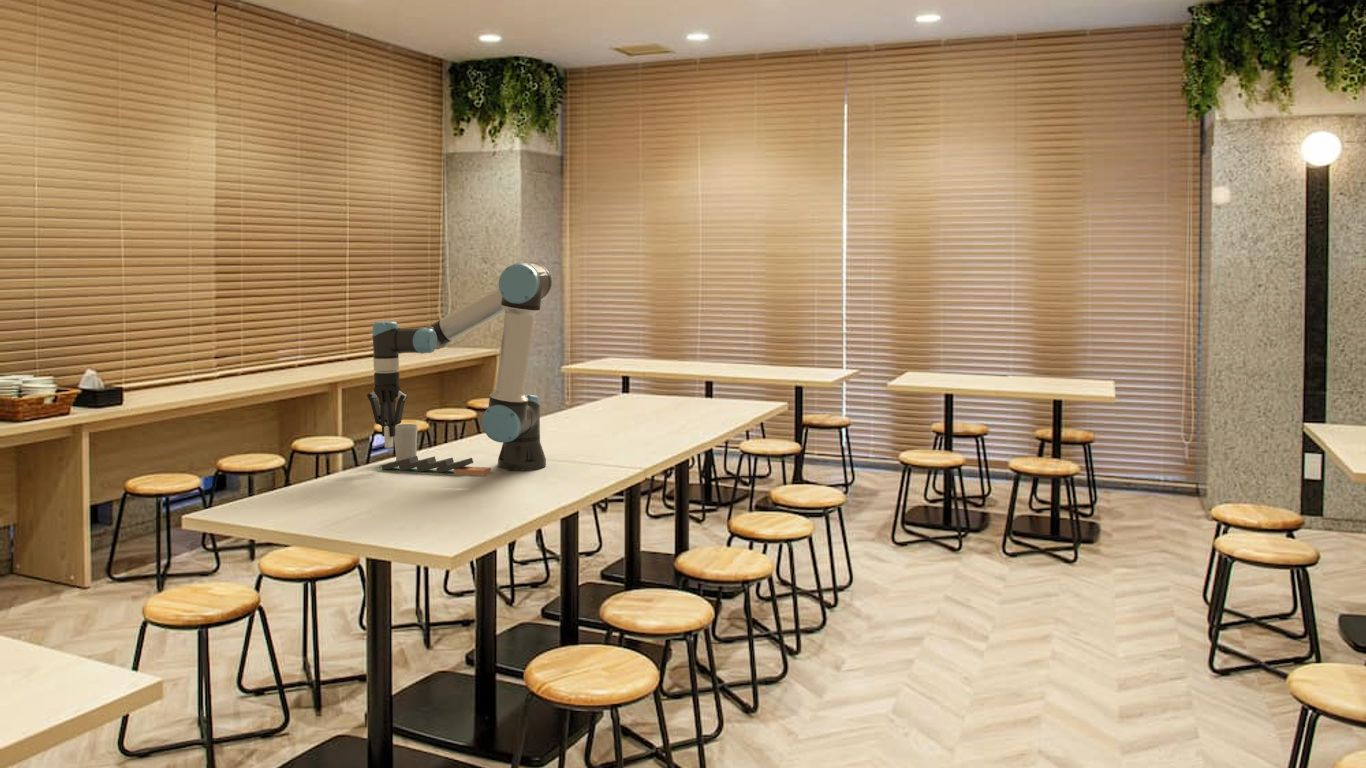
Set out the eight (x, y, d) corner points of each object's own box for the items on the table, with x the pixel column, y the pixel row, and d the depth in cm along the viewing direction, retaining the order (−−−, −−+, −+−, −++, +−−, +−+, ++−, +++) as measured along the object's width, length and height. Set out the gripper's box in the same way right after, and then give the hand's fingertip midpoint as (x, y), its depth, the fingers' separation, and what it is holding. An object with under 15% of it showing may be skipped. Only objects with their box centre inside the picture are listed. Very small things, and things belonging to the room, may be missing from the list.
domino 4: (445, 470, 334) (473, 462, 331) (437, 473, 329) (466, 465, 326) (443, 465, 334) (472, 457, 331) (436, 468, 329) (464, 460, 326)
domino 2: (408, 468, 337) (436, 461, 335) (400, 471, 332) (428, 464, 330) (406, 463, 337) (434, 456, 334) (398, 466, 332) (427, 459, 330)
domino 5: (461, 471, 333) (490, 472, 330) (453, 474, 328) (483, 475, 325) (461, 465, 333) (490, 467, 330) (453, 469, 328) (483, 470, 325)
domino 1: (390, 467, 339) (418, 460, 336) (382, 470, 334) (410, 463, 331) (389, 462, 339) (417, 455, 336) (381, 465, 334) (409, 458, 331)
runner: (493, 473, 331) (493, 472, 331) (484, 477, 324) (484, 476, 324) (382, 467, 341) (382, 466, 341) (371, 471, 334) (371, 470, 334)
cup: (412, 465, 344) (411, 428, 343) (389, 464, 346) (387, 427, 345) (423, 460, 352) (422, 424, 351) (400, 459, 354) (399, 423, 352)
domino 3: (425, 469, 336) (454, 462, 333) (418, 472, 331) (446, 465, 328) (424, 464, 336) (452, 457, 333) (416, 467, 331) (445, 460, 328)
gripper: (411, 370, 334) (414, 445, 337) (374, 369, 338) (376, 444, 340) (399, 373, 327) (402, 449, 330) (361, 372, 331) (363, 448, 333)
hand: (389, 446), depth 335 cm, fingers closed
